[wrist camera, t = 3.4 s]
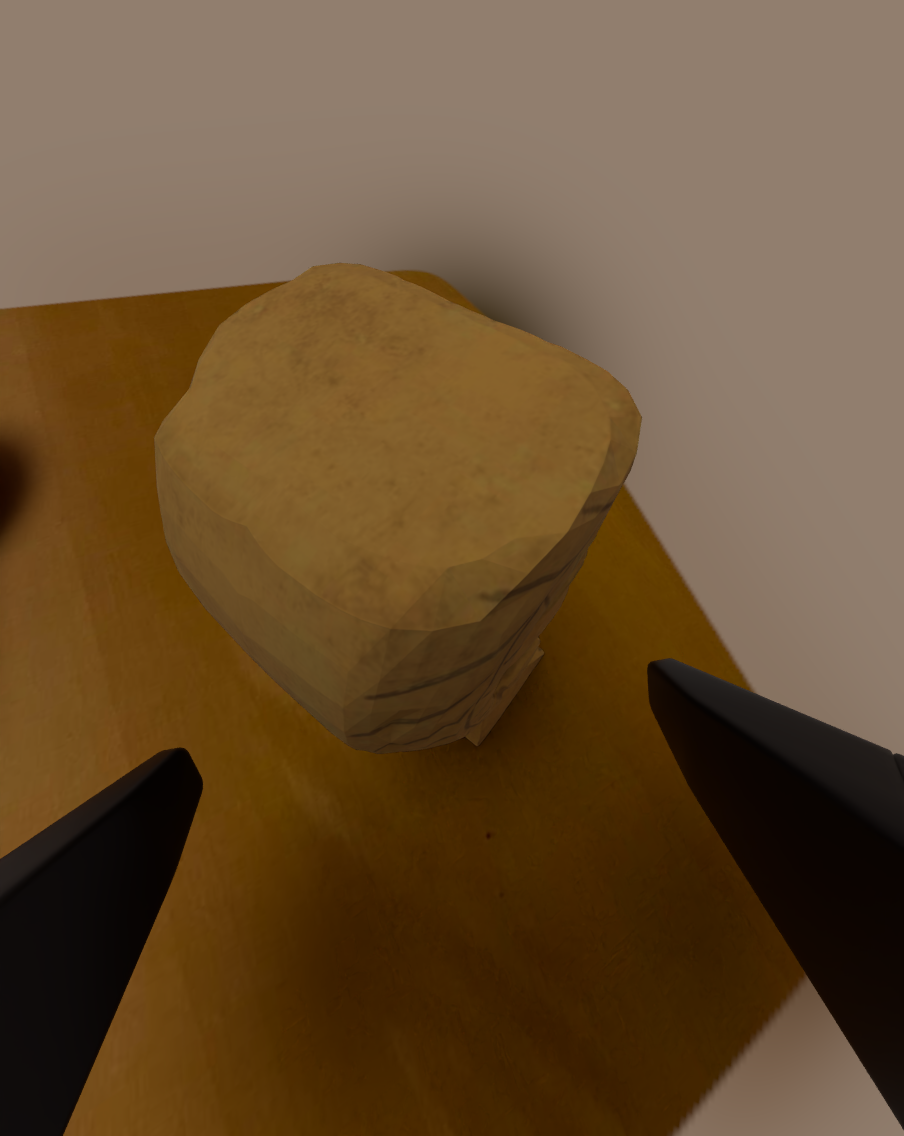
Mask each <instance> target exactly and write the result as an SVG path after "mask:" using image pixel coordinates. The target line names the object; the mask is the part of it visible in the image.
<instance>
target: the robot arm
mask: <svg viewBox="0 0 904 1136" xmlns="http://www.w3.org/2000/svg"><path fill="white" fill-rule="evenodd" d="M647 674H648V692H649V702H650V706H651V709H652V712H653V714H654V716H655V718H656V720H657V722H658V724H659V726H660V728H661V730H662V732H663V734H664V736H665V738H666V740H667V743H668V745H669V747H670V749H671V751H672V753H673V755H674V757H675V759H676V761H677V763H678V765H679V767H680V769H681V771H682V773H683V775H684V777H685V779H686V781H687V783H688V785H689V787H690V789H691V790H692V792H693V794H694V796H695V797H696V799H697V801H698V802H699V804H700V805H701V807H702V809H703V810H704V812H705V813H706V815H707V817H708V818H709V820H710V821H711V823H712V825H713V826H714V828H715V829H716V831H717V833H718V834H719V836H720V837H721V839H722V841H723V842H724V844H725V845H726V847H727V849H728V850H729V852H730V853H731V855H732V857H733V858H734V860H735V861H736V863H737V864H738V866H739V868H740V869H741V871H742V872H743V874H744V876H745V877H746V879H747V880H748V882H749V884H750V885H751V887H752V888H753V890H754V892H755V893H756V895H757V896H758V898H759V900H760V901H761V903H762V904H763V906H764V908H765V909H766V911H767V912H768V914H769V916H770V917H771V919H772V920H773V922H774V924H775V925H776V927H777V928H778V930H779V932H780V933H781V935H782V936H783V938H784V940H785V941H786V943H787V944H788V946H789V948H790V949H791V951H792V952H793V954H794V956H795V957H796V959H797V960H798V962H799V963H800V965H801V967H802V968H803V970H804V971H805V973H806V975H807V976H808V978H809V979H810V981H811V983H812V984H813V986H814V987H815V989H816V991H817V992H818V994H819V995H820V997H821V999H822V1000H823V1002H824V1003H825V1005H826V1007H827V1008H828V1010H829V1011H830V1013H831V1014H832V1016H833V1018H834V1019H835V1021H836V1023H837V1024H838V1026H839V1027H840V1029H841V1031H842V1032H843V1034H844V1035H845V1037H846V1039H847V1040H848V1042H849V1043H850V1045H851V1046H852V1048H853V1050H854V1051H855V1053H856V1055H857V1056H858V1058H859V1059H860V1061H861V1063H862V1064H863V1066H864V1067H865V1069H866V1070H867V1072H868V1074H869V1075H870V1077H871V1078H872V1080H873V1082H874V1083H875V1085H876V1086H877V1088H878V1090H879V1091H880V1093H881V1094H882V1096H883V1097H884V1099H885V1101H886V1102H887V1104H888V1106H889V1107H890V1109H891V1110H892V1112H893V1114H894V1115H895V1117H896V1118H897V1120H898V1121H899V1123H900V1125H901V1126H902V1128H903V1130H904V756H903V755H900V754H897V753H896V754H894V755H893V754H892V752H891V751H890V750H888V749H886V748H883V747H881V746H879V745H876V744H874V743H871V742H869V741H867V740H864V739H862V738H860V737H857V736H855V735H852V734H850V733H848V732H845V731H843V730H841V729H838V728H836V727H833V726H831V725H829V724H826V723H824V722H821V721H819V720H817V719H814V718H812V717H810V716H807V715H805V714H802V713H800V712H798V711H795V710H793V709H790V708H788V707H786V706H783V705H781V704H779V703H776V702H774V701H771V700H769V699H767V698H765V697H762V696H760V695H757V694H755V693H753V692H750V691H748V690H746V689H743V688H741V687H738V686H736V685H734V684H731V683H729V682H727V681H724V680H722V679H719V678H717V677H715V676H712V675H710V674H708V673H705V672H703V671H700V670H698V669H696V668H693V667H691V666H689V665H686V664H684V663H681V662H679V661H677V660H674V659H670V658H668V659H663V660H657V661H652V662H650V663H649V664H648V668H647ZM202 790H203V781H202V777H201V775H200V773H199V771H198V769H197V767H196V766H195V764H194V762H193V760H192V758H191V756H190V754H189V752H188V751H187V750H186V749H184V748H174V749H169V750H163V751H161V752H159V753H157V754H156V755H154V756H153V757H151V758H150V759H148V760H147V761H145V762H144V763H142V764H141V765H139V766H138V767H136V768H135V769H133V770H132V771H130V772H129V773H127V774H126V775H125V776H123V777H122V778H120V779H119V780H117V781H116V782H114V783H113V784H111V785H110V786H108V787H107V788H105V789H104V790H102V791H101V792H99V793H98V794H96V795H95V796H93V797H92V798H90V799H89V800H87V801H86V802H84V803H83V804H81V805H80V806H79V807H77V808H76V809H74V810H73V811H71V812H70V813H68V814H67V815H65V816H64V817H62V818H61V819H59V820H58V821H56V822H55V823H53V824H52V825H50V826H49V827H47V828H46V829H44V830H43V831H41V832H40V833H38V834H37V835H35V836H34V837H33V838H31V839H30V840H28V841H27V842H25V843H24V844H22V845H21V846H19V847H18V848H16V849H15V850H13V851H12V852H10V853H9V854H7V855H6V856H4V857H3V858H1V859H0V1136H63V1134H64V1132H65V1130H66V1127H67V1125H68V1123H69V1120H70V1118H71V1116H72V1113H73V1111H74V1109H75V1106H76V1104H77V1102H78V1099H79V1097H80V1095H81V1092H82V1090H83V1088H84V1085H85V1083H86V1081H87V1078H88V1076H89V1074H90V1071H91V1069H92V1067H93V1064H94V1062H95V1060H96V1057H97V1055H98V1053H99V1050H100V1048H101V1046H102V1043H103V1041H104V1039H105V1036H106V1034H107V1032H108V1029H109V1027H110V1025H111V1022H112V1020H113V1018H114V1015H115V1013H116V1011H117V1008H118V1006H119V1004H120V1001H121V999H122V997H123V994H124V992H125V990H126V987H127V985H128V983H129V980H130V978H131V976H132V973H133V971H134V969H135V966H136V964H137V962H138V959H139V957H140V955H141V952H142V950H143V948H144V945H145V943H146V941H147V938H148V936H149V934H150V931H151V929H152V927H153V924H154V922H155V920H156V917H157V915H158V913H159V910H160V908H161V906H162V903H163V901H164V899H165V896H166V894H167V892H168V889H169V887H170V884H171V882H172V879H173V877H174V874H175V872H176V869H177V866H178V863H179V860H180V857H181V854H182V851H183V848H184V845H185V842H186V839H187V836H188V833H189V830H190V827H191V824H192V821H193V818H194V815H195V812H196V809H197V806H198V803H199V800H200V797H201V794H202Z"/></svg>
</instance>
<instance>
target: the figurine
mask: <svg viewBox="0 0 904 1136" xmlns="http://www.w3.org/2000/svg"><path fill="white" fill-rule="evenodd" d="M641 420H642V417H641V415H640V413H639V411H638V409H637V407H636V405H635V403H634V401H633V399H632V397H631V395H630V393H629V391H628V390H627V389H626V388H625V387H624V386H623V385H622V384H621V383H620V382H619V381H617V380H616V379H615V378H614V377H613V376H612V375H611V374H610V373H609V372H607V371H606V370H604V369H603V368H601V367H599V366H597V365H596V364H594V363H592V362H590V361H589V360H587V359H585V358H583V357H580V356H579V355H577V354H575V353H573V352H571V351H569V350H567V349H565V348H563V347H561V346H558V345H555V344H552V343H548V342H546V341H544V340H542V339H540V338H538V337H537V336H534V335H532V334H530V333H527V332H525V331H522V330H520V329H517V328H514V327H511V326H508V325H506V324H503V323H500V322H497V321H494V320H492V319H489V318H487V317H485V316H483V315H480V314H478V313H475V312H473V311H470V310H468V309H466V308H464V307H462V306H460V305H458V304H455V303H452V302H450V301H447V300H446V299H444V298H442V297H440V296H438V295H436V294H434V293H432V292H431V291H429V290H427V289H424V288H422V287H420V286H418V285H415V284H413V283H410V282H407V281H404V280H402V279H401V278H399V277H397V276H395V275H392V274H389V273H386V272H383V271H381V270H378V269H374V268H371V267H367V266H364V265H361V264H348V263H335V264H328V265H320V266H313V267H311V268H310V269H308V270H307V271H305V272H304V273H302V274H301V275H299V276H298V277H296V278H295V279H294V280H292V281H290V282H288V283H285V284H283V285H281V286H279V287H277V288H275V289H272V290H270V291H268V292H267V293H265V294H263V295H261V296H260V297H258V298H256V299H254V300H252V301H251V302H249V303H247V304H246V305H244V306H243V307H242V308H241V309H239V310H238V311H237V312H235V313H234V314H233V315H232V316H230V317H229V318H228V319H227V320H225V321H224V322H223V323H222V324H220V325H219V327H218V328H217V330H216V332H215V333H214V335H213V337H212V338H211V340H210V342H209V343H208V345H207V347H206V348H205V350H204V352H203V353H202V355H201V357H200V358H199V361H198V364H197V367H196V370H195V373H194V376H193V379H192V382H191V385H190V388H189V390H188V391H187V392H186V394H185V395H184V396H183V397H182V399H181V400H180V401H179V402H178V403H177V405H176V406H175V407H174V408H173V410H172V411H171V412H170V413H169V414H168V416H167V417H166V418H165V419H164V420H163V422H162V424H161V426H160V428H159V430H158V431H157V433H156V435H155V437H154V440H155V460H156V480H157V491H158V497H159V504H160V510H161V516H162V521H163V527H164V533H165V538H166V542H167V545H168V547H169V549H170V552H171V554H172V557H173V559H174V561H175V564H176V566H177V569H178V571H179V573H180V574H181V576H182V577H183V578H184V580H185V581H186V583H187V584H188V585H189V587H190V588H191V590H192V591H193V592H194V594H195V595H196V597H197V598H198V599H199V601H200V602H201V603H202V605H203V606H204V607H205V609H206V610H207V611H208V612H209V613H210V614H211V615H212V616H213V617H214V618H215V620H216V621H217V622H218V623H219V624H220V625H221V626H222V627H223V628H224V629H225V630H226V631H227V632H228V633H229V635H230V636H231V637H232V638H233V639H234V640H235V641H236V642H237V643H238V644H239V645H240V646H241V647H242V649H243V650H244V651H245V652H246V653H247V654H248V655H249V656H250V657H251V658H252V659H253V660H254V661H255V662H256V663H257V664H258V665H259V666H260V667H261V668H262V669H263V670H264V671H265V672H266V673H267V674H268V675H269V676H270V677H271V678H272V679H273V680H274V681H275V682H276V683H277V684H278V685H280V686H281V687H282V688H283V689H284V690H285V691H286V692H287V693H288V694H289V695H290V696H291V697H292V698H294V699H295V700H296V701H297V702H298V703H299V704H300V705H301V706H302V707H303V708H305V709H306V710H307V711H308V712H309V713H310V714H311V715H312V716H313V717H314V718H316V719H317V720H318V721H319V722H320V723H321V724H322V725H323V726H324V727H325V728H327V729H328V730H329V731H330V732H331V733H332V734H334V735H335V736H336V737H338V738H339V739H340V740H342V741H343V742H344V743H346V744H347V745H348V746H350V747H352V748H354V749H356V750H364V751H369V752H373V753H377V754H383V753H392V752H399V751H403V752H407V751H416V750H422V749H427V748H432V747H435V746H440V745H444V744H448V743H451V742H453V741H456V740H459V739H461V738H463V737H466V738H467V739H468V740H469V741H471V742H472V743H473V744H474V745H476V746H479V745H480V744H481V742H482V741H483V740H484V739H485V737H486V736H487V735H488V733H489V732H490V731H491V729H492V728H493V726H494V725H495V724H496V722H497V721H498V720H499V718H500V717H501V715H502V714H503V713H504V711H505V710H506V708H507V707H508V705H509V704H510V703H511V701H512V700H513V698H514V697H515V695H516V694H517V693H518V691H519V690H520V688H521V687H522V685H523V684H524V682H525V681H526V679H527V678H528V676H529V675H530V673H531V672H532V671H533V669H534V668H535V666H536V665H537V663H538V662H539V660H540V659H541V657H542V656H543V654H544V652H543V650H542V649H541V648H539V647H538V646H539V643H540V639H539V637H538V636H539V635H540V634H541V633H542V631H543V630H544V629H545V627H546V626H547V625H548V624H549V622H550V621H551V620H552V618H553V617H554V616H555V614H556V613H557V611H558V610H559V608H560V606H561V604H562V602H563V600H564V598H565V596H566V594H567V591H568V588H569V585H570V583H571V582H572V581H573V579H574V578H575V576H576V575H577V573H578V571H579V570H580V568H581V567H582V565H583V563H584V559H585V557H586V556H587V550H588V547H589V546H590V545H591V543H592V542H593V540H594V539H595V537H596V534H597V532H598V530H599V528H600V526H601V524H602V523H603V521H604V519H605V517H606V515H607V513H608V511H609V509H610V507H611V506H612V504H613V502H614V500H615V498H616V496H617V494H618V492H619V491H620V489H621V487H622V485H623V483H624V482H625V480H626V478H627V476H628V474H629V473H630V471H631V467H632V465H633V462H634V459H635V456H636V453H637V447H638V441H639V434H640V427H641Z"/></svg>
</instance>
